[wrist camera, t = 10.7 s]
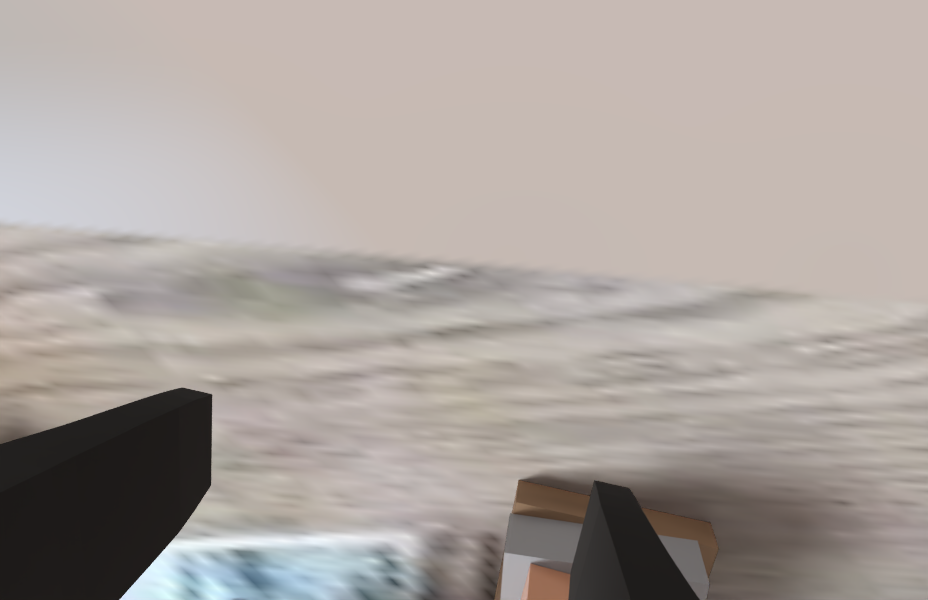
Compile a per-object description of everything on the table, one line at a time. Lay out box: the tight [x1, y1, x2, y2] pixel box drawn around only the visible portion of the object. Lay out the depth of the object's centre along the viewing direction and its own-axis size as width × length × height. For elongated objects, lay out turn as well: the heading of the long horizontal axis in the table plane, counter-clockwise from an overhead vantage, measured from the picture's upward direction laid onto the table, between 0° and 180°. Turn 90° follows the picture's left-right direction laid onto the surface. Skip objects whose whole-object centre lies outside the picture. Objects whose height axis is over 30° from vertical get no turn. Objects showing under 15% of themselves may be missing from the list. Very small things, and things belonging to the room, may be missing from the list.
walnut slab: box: [494, 480, 719, 600], centre depth 23 cm, size 7×7×2 cm
